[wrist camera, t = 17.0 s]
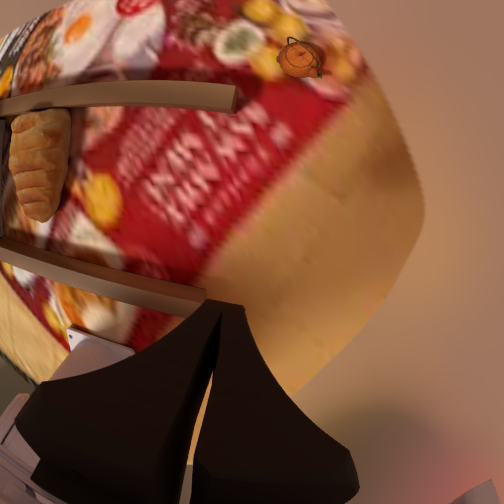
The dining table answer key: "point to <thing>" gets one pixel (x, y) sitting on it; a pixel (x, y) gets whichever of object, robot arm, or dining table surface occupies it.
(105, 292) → the rail
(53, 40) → the dining table surface
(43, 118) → the pastry
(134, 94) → the rail
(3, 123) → the block
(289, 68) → the round teapot
